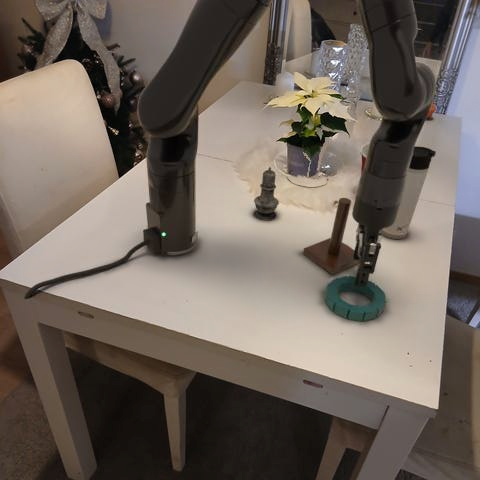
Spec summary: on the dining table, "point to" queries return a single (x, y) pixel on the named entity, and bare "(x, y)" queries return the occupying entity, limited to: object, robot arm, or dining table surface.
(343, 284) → the ring
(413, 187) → the travel mug
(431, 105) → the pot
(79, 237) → the dining table surface
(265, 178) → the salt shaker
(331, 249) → the post
